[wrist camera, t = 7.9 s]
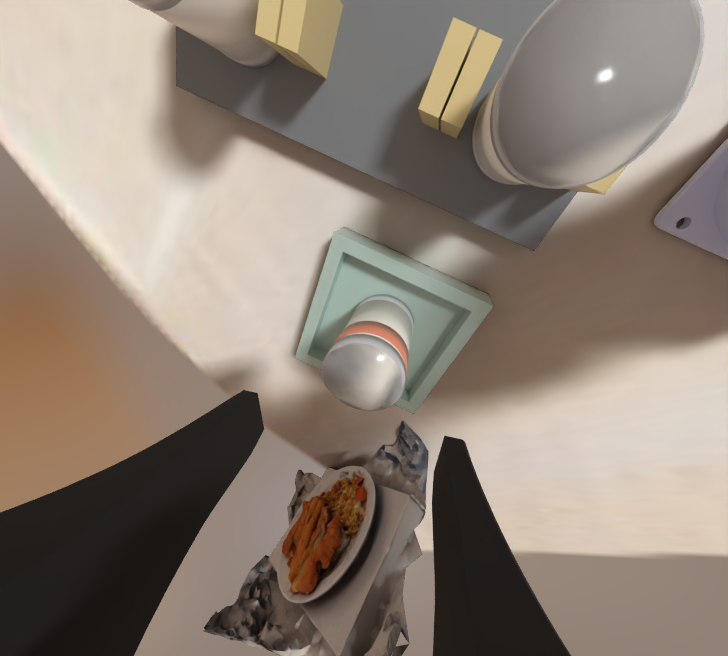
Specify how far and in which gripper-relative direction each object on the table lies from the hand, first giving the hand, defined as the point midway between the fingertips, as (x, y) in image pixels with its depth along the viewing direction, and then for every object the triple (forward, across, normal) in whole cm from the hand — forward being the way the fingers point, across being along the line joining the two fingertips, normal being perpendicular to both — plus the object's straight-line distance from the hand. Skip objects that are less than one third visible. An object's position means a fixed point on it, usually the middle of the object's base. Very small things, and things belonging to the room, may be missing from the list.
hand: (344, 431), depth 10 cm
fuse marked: (+9, 0, 0) cm, 9 cm away
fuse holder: (+10, +1, -12) cm, 16 cm away
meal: (+10, +2, +16) cm, 19 cm away
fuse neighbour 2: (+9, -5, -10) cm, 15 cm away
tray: (+10, 0, 0) cm, 10 cm away
